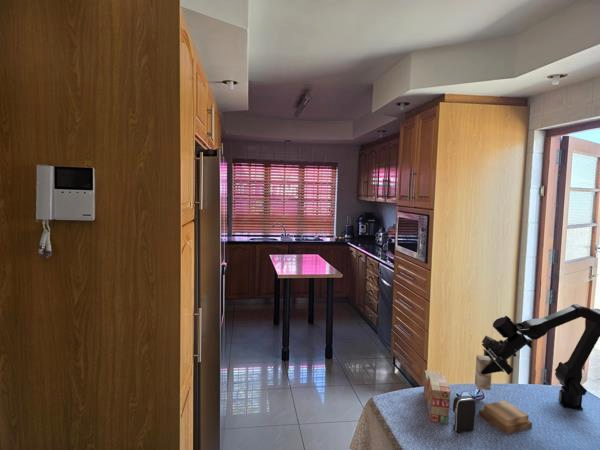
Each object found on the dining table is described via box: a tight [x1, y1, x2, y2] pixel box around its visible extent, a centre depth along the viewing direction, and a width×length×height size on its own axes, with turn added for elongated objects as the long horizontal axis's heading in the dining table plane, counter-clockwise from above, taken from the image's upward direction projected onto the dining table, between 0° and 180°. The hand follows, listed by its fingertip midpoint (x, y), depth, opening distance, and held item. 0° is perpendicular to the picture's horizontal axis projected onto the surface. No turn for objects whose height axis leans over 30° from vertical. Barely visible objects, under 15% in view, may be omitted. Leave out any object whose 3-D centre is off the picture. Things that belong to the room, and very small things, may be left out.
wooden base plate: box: [478, 408, 533, 435], centre depth 141 cm, size 12×12×2 cm
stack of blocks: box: [423, 369, 451, 425], centre depth 149 cm, size 21×6×12 cm, turn 169°
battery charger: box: [452, 395, 477, 433], centre depth 135 cm, size 7×4×11 cm, turn 103°
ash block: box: [474, 354, 493, 391], centre depth 156 cm, size 4×4×12 cm
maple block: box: [483, 400, 530, 427], centre depth 140 cm, size 10×10×2 cm
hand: (479, 370), depth 156 cm, fingers closed on ash block, 4 cm apart
